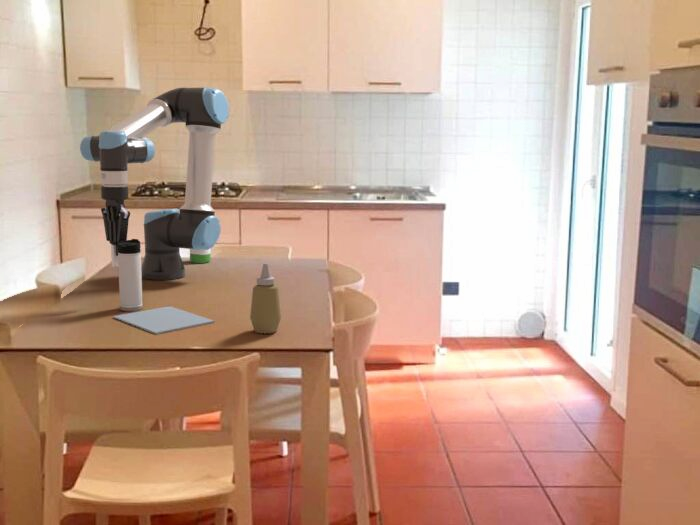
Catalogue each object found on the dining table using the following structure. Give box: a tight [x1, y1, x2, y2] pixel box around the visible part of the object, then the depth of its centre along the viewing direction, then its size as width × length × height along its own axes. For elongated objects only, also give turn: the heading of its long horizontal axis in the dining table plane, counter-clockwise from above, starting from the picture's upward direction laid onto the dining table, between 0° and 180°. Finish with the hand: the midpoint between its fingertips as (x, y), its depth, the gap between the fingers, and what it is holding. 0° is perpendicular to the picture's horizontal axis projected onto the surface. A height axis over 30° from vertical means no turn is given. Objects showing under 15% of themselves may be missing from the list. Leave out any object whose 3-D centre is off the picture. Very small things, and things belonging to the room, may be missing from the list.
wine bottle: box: [189, 248, 212, 264], centre depth 300 cm, size 8×8×30 cm
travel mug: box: [118, 238, 143, 313], centre depth 227 cm, size 6×7×20 cm
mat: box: [113, 305, 215, 335], centre depth 217 cm, size 22×18×1 cm
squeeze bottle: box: [249, 263, 282, 335], centre depth 206 cm, size 8×8×18 cm
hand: (117, 266), depth 232 cm, fingers closed
